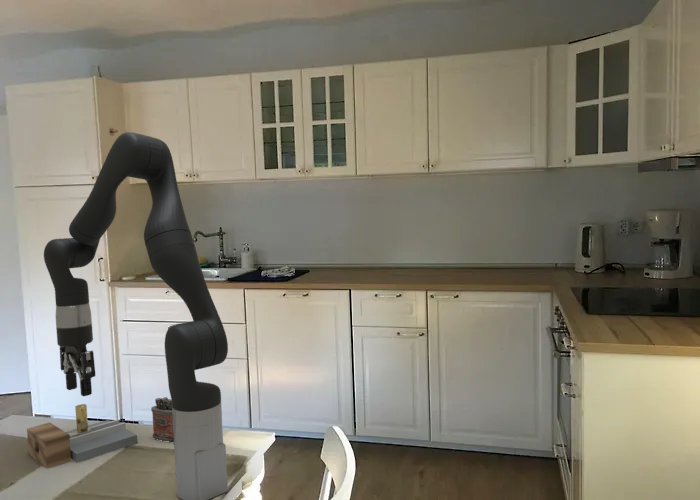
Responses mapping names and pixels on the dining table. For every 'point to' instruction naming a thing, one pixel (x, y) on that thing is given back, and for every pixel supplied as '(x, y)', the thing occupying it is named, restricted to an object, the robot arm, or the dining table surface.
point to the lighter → (163, 420)
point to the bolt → (81, 421)
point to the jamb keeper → (49, 445)
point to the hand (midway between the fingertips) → (79, 392)
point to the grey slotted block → (101, 440)
